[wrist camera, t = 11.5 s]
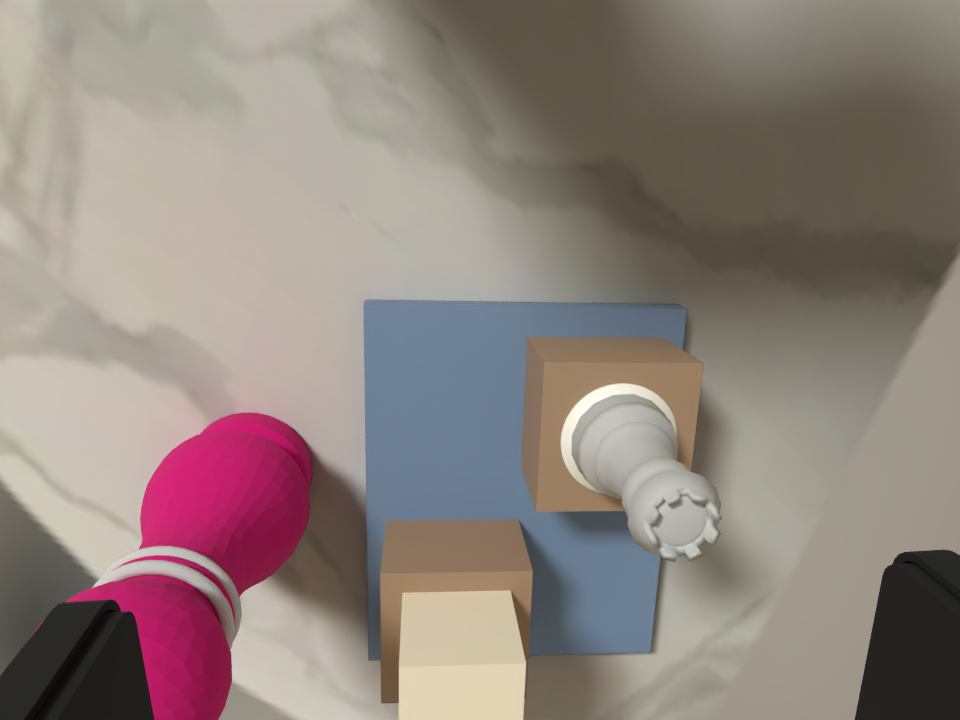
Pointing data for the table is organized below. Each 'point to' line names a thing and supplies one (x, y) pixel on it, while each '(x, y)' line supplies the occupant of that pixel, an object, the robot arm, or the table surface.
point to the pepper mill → (208, 554)
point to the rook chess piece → (646, 475)
